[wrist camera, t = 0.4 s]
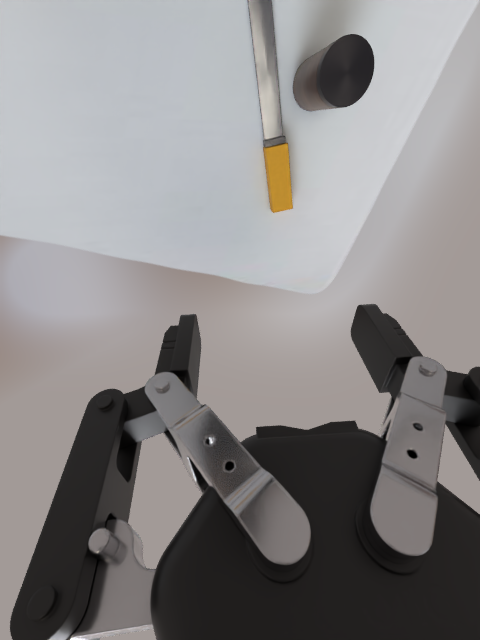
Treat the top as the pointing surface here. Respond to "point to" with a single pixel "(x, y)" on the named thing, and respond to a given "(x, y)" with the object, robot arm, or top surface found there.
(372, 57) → the pepper mill
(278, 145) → the knife
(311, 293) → the top surface
